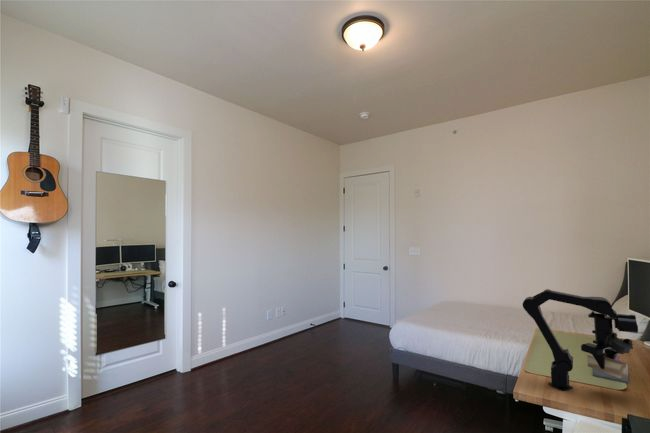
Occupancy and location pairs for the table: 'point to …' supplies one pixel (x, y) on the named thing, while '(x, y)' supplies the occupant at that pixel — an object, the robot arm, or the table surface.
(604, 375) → the bin
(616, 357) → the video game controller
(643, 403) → the table surface
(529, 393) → the table surface
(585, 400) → the table surface
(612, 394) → the table surface
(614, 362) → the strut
